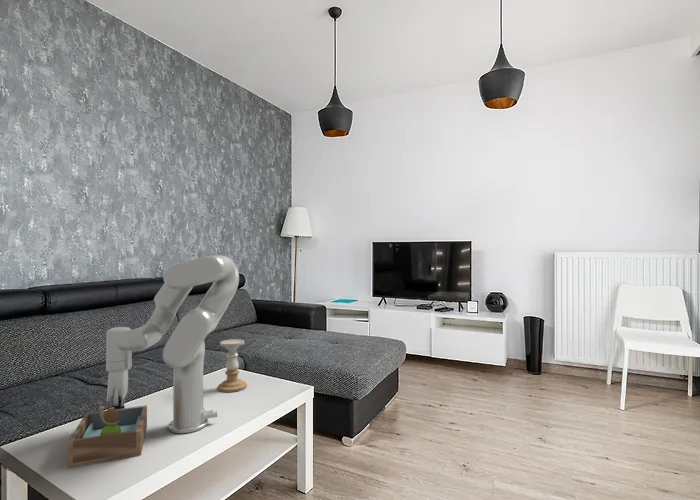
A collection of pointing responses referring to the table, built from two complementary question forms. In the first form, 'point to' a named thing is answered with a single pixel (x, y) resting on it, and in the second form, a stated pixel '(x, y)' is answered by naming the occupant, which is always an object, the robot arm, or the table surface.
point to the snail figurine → (109, 420)
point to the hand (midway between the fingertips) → (118, 418)
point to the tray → (126, 420)
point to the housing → (105, 444)
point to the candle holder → (232, 367)
